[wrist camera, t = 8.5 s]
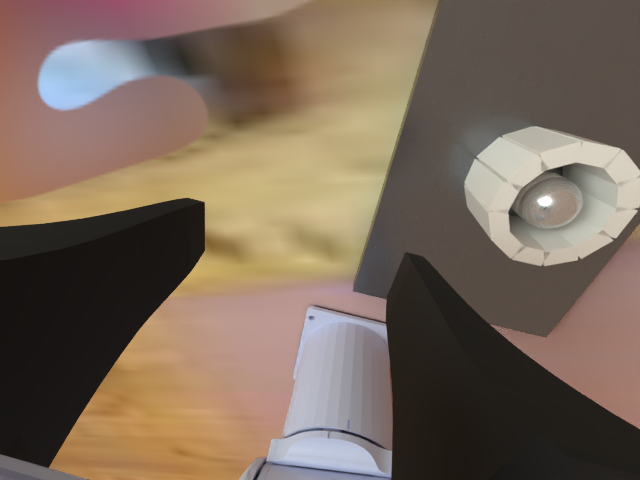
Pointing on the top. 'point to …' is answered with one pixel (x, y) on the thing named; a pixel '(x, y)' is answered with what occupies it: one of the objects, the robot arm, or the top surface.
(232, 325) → the top surface
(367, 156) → the top surface
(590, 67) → the steel tile with stud
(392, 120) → the top surface
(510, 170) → the ring
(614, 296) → the top surface
